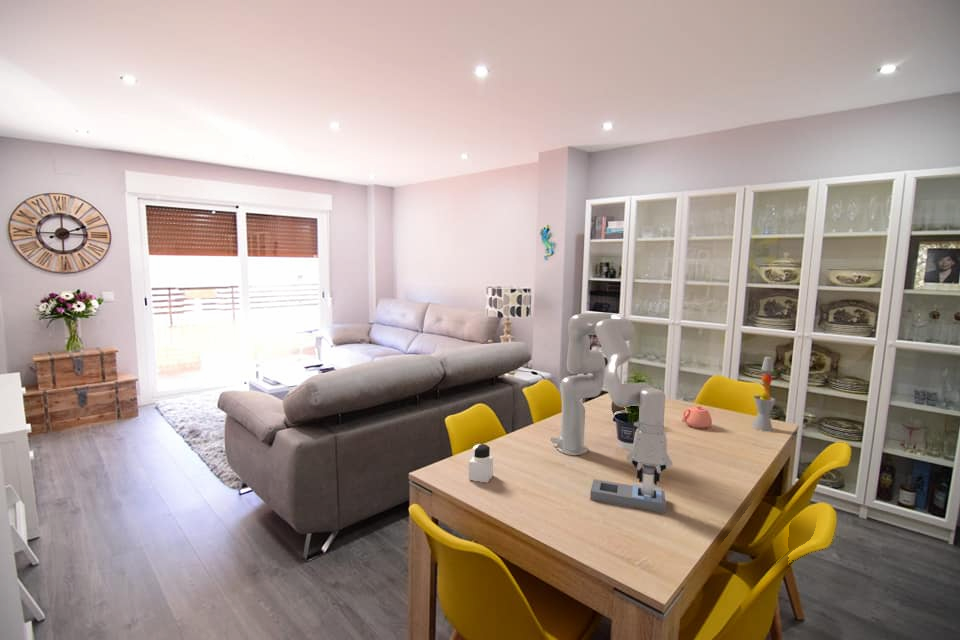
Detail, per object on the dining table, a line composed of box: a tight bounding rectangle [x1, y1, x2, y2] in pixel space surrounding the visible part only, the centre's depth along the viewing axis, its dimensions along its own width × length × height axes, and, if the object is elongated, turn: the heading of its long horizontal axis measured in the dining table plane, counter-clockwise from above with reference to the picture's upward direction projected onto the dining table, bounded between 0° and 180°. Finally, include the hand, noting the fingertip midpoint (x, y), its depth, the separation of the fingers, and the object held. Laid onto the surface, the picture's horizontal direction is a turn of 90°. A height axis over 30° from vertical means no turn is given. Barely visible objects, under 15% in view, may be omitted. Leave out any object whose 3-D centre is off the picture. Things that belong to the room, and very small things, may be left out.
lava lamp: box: [751, 356, 777, 432], centre depth 217 cm, size 9×9×35 cm
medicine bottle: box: [468, 443, 494, 484], centre depth 164 cm, size 7×7×12 cm
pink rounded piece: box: [681, 404, 713, 429], centre depth 221 cm, size 12×14×10 cm
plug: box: [640, 463, 656, 498], centre depth 147 cm, size 4×4×10 cm
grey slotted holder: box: [589, 478, 667, 514], centre depth 150 cm, size 23×9×4 cm, turn 70°
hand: (647, 481), depth 147 cm, fingers closed on plug, 4 cm apart
